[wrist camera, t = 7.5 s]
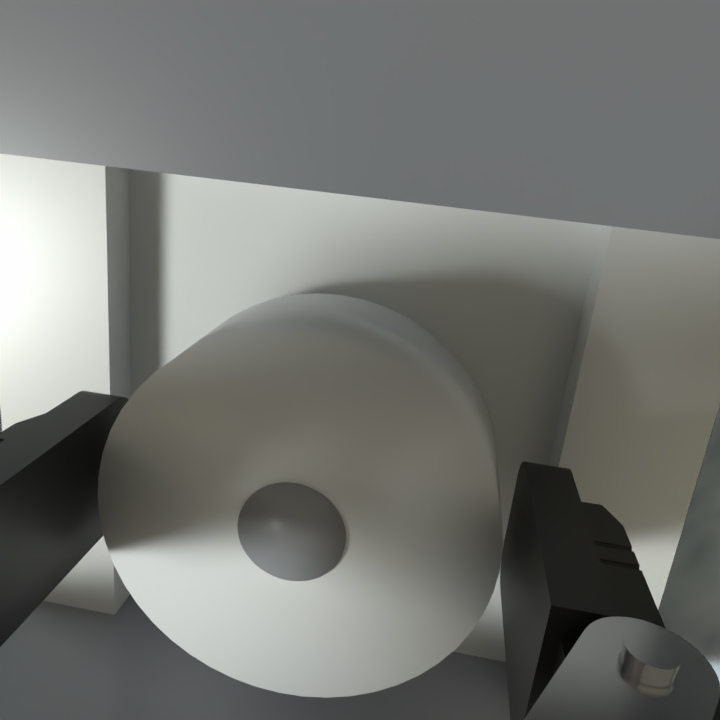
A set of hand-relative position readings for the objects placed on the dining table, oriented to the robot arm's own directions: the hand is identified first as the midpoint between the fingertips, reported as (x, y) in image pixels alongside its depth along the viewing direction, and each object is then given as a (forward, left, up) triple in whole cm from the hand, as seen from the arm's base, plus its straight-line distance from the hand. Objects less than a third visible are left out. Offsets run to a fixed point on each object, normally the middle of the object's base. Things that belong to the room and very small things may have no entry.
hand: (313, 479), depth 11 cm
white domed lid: (0, 0, -1) cm, 1 cm away
